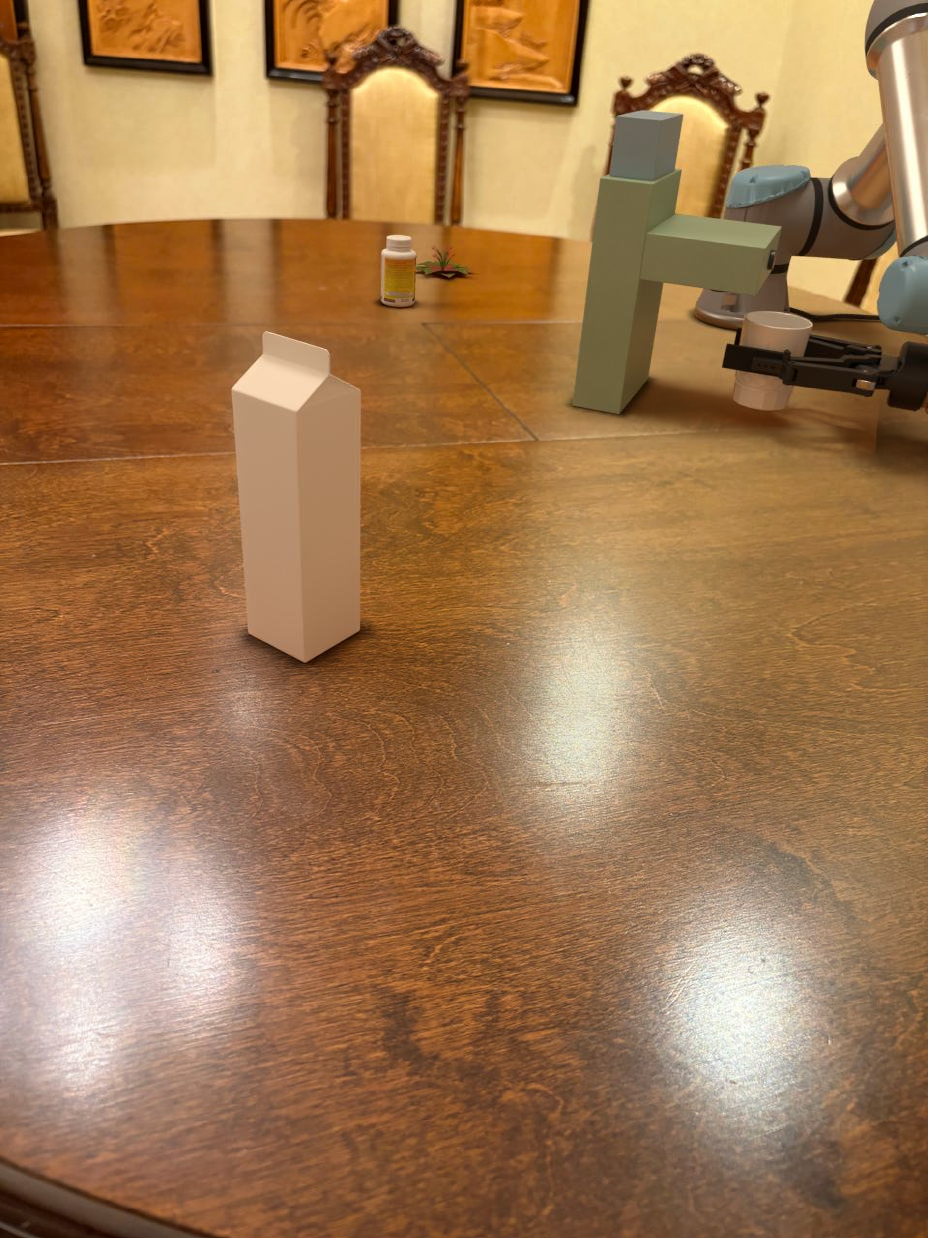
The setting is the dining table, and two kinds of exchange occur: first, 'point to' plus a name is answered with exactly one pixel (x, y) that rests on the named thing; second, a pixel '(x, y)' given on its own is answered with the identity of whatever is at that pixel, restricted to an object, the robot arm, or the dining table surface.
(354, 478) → the milk
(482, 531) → the dining table surface
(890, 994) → the dining table surface
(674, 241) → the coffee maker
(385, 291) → the supplement bottle
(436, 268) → the green leafy plant
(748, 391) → the beige cup
